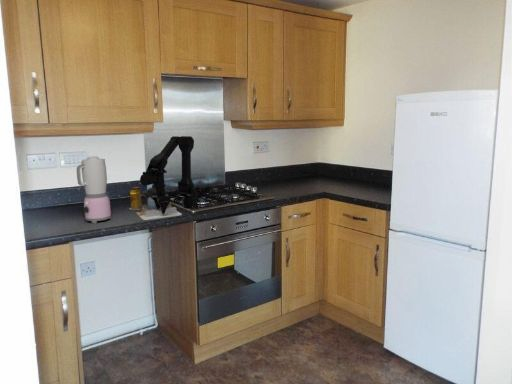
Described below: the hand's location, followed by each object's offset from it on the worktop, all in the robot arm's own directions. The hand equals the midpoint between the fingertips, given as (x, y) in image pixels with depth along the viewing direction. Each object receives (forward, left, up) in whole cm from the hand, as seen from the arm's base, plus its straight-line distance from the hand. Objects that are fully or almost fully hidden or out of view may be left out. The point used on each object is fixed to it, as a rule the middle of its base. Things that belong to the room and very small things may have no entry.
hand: (160, 212), depth 222 cm
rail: (0, 0, -1) cm, 1 cm away
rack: (0, -7, -2) cm, 8 cm away
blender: (+31, -7, -2) cm, 32 cm away
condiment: (+6, -25, -2) cm, 26 cm away
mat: (0, 0, -2) cm, 2 cm away
